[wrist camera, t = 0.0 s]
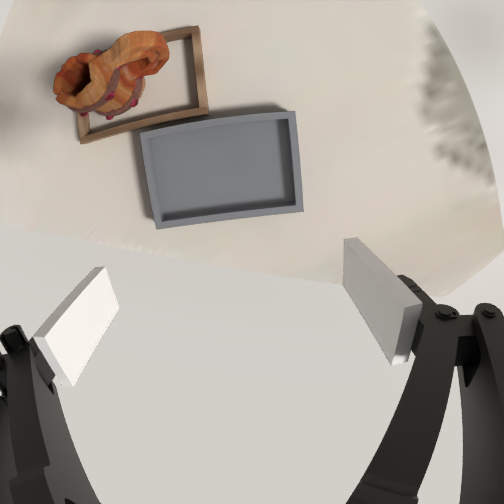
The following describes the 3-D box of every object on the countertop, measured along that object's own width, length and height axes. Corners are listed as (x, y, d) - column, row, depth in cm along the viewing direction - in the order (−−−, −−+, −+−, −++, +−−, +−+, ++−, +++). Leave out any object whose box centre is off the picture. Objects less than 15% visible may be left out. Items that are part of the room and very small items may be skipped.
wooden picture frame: (80, 65, 31) (74, 63, 30) (200, 30, 31) (198, 25, 29) (86, 143, 37) (80, 144, 35) (209, 114, 37) (207, 113, 35)
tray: (146, 133, 37) (139, 133, 34) (291, 113, 37) (295, 111, 34) (161, 223, 42) (156, 229, 39) (299, 206, 42) (303, 211, 39)
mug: (105, 128, 36) (47, 129, 22) (91, 86, 33) (34, 72, 19) (192, 86, 35) (165, 59, 21) (175, 42, 32) (144, 1, 18)
